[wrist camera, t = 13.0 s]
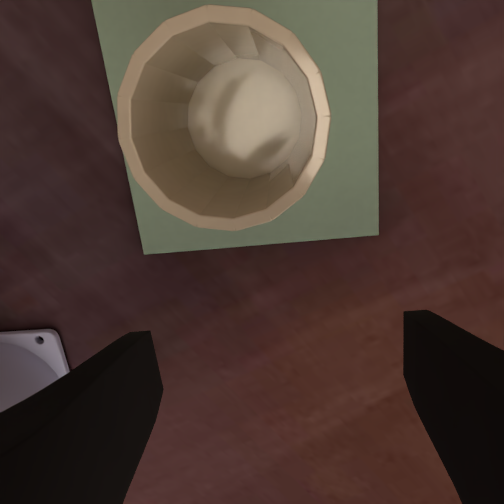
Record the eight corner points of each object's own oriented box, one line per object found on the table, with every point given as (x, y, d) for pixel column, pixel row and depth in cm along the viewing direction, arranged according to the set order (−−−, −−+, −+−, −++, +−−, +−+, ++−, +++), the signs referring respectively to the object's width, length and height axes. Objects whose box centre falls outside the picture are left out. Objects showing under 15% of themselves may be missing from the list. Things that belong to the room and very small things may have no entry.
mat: (146, 252, 21) (143, 255, 21) (92, -8, 17) (88, -10, 17) (377, 232, 20) (379, 235, 20) (374, -50, 16) (377, -54, 16)
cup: (207, 198, 20) (162, 252, 12) (164, 75, 18) (81, 51, 10) (322, 163, 19) (351, 198, 11) (289, 31, 17) (297, -32, 10)
